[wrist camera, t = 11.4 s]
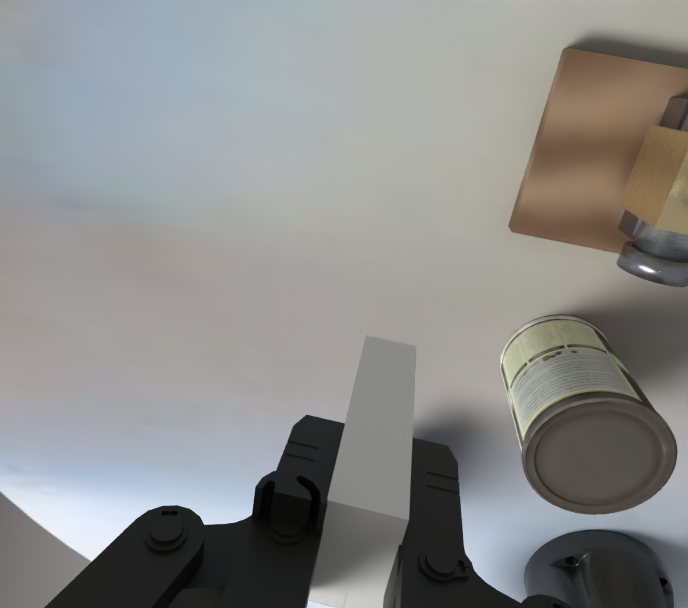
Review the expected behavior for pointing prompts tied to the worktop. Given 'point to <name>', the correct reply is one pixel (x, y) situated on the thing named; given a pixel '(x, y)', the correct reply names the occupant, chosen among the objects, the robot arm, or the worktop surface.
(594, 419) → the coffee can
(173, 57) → the worktop surface
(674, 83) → the base board
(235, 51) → the worktop surface
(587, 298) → the worktop surface
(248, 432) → the worktop surface
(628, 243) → the valve body
